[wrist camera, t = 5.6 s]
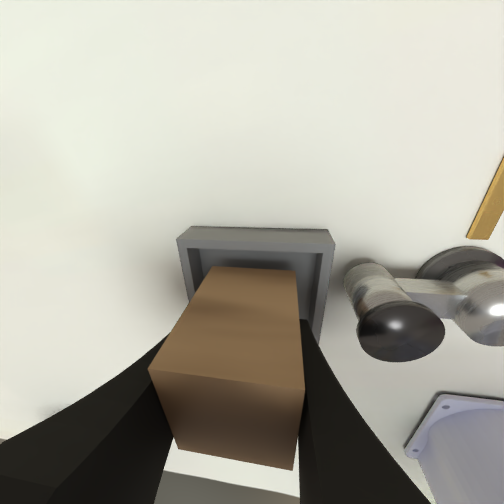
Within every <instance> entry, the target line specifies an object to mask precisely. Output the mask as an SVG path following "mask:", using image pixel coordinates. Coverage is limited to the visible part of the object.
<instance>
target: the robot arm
mask: <svg viewBox="0 0 504 504" xmlns="http://www.w3.org/2000/svg"><path fill="white" fill-rule="evenodd" d="M299 322H300V334H301V346H302V358H303V370H304V382H305V394H304V401H303V407H302V413H301V420H300V426H299V432H298V447H299V482H300V504H431V503H430V502H429V500H428V499H427V498H426V497H425V496H424V495H423V493H422V492H421V491H420V490H419V489H418V488H417V486H416V485H415V484H414V483H413V482H412V480H411V479H410V478H409V477H408V476H407V474H406V473H405V472H404V471H403V469H402V468H401V467H400V466H399V465H398V463H397V462H396V461H395V460H394V458H393V457H392V456H391V455H390V453H389V452H388V451H387V449H386V448H385V447H384V446H383V444H382V443H381V442H380V440H379V439H378V438H377V436H376V435H375V434H374V433H373V431H372V430H371V429H370V427H369V426H368V425H367V423H366V422H365V420H364V419H363V418H362V416H361V415H360V413H359V412H358V411H357V409H356V408H355V406H354V405H353V403H352V402H351V400H350V399H349V397H348V396H347V394H346V393H345V391H344V390H343V388H342V387H341V385H340V383H339V382H338V380H337V378H336V377H335V375H334V373H333V372H332V370H331V368H330V366H329V365H328V363H327V361H326V359H325V357H324V355H323V353H322V351H321V349H320V347H319V345H318V343H317V341H316V339H315V337H314V335H313V332H312V330H311V327H310V324H309V321H308V320H307V319H299ZM169 334H170V333H169ZM169 334H168V335H167V336H166V337H165V338H164V339H162V340H161V341H160V342H159V343H158V344H157V345H156V346H154V347H153V348H152V349H151V350H150V351H148V352H147V353H146V354H145V355H144V356H142V357H141V358H140V359H139V360H137V361H136V362H135V363H133V364H132V365H131V366H129V367H128V368H127V369H125V370H124V371H123V372H121V373H120V374H119V375H117V376H116V377H114V378H113V379H111V380H110V381H108V382H107V383H105V384H104V385H102V386H101V387H99V388H98V389H96V390H95V391H93V392H91V393H90V394H88V395H87V396H85V397H84V398H82V399H80V400H79V401H77V402H75V403H74V404H72V405H70V406H69V407H67V408H65V409H63V410H62V411H60V412H58V413H56V414H55V415H53V416H51V417H49V418H48V419H46V420H44V421H42V422H40V423H38V424H36V425H35V426H33V427H31V428H29V429H27V430H25V431H23V432H21V433H19V434H18V435H16V436H14V437H12V438H10V439H8V440H6V441H4V442H2V444H0V504H154V500H155V497H156V494H157V490H158V487H159V483H160V480H161V476H162V473H163V469H164V466H165V463H166V460H167V456H168V453H169V450H170V447H171V443H172V440H173V437H174V436H173V434H172V431H171V428H170V426H169V423H168V421H167V418H166V415H165V413H164V410H163V408H162V405H161V402H160V400H159V397H158V394H157V392H156V389H155V387H154V384H153V381H152V379H151V376H150V374H149V371H148V367H149V366H150V364H151V363H152V361H153V359H154V358H155V356H156V355H157V353H158V351H159V350H160V348H161V347H162V345H163V344H164V342H165V340H166V339H167V337H168V336H169ZM404 452H405V454H406V456H407V457H410V458H415V459H418V461H419V464H420V466H421V468H422V471H423V473H424V475H425V478H426V480H427V482H428V485H429V487H430V489H431V492H432V494H433V496H434V499H435V501H436V503H437V504H504V401H499V400H490V399H482V398H474V397H466V396H458V395H449V394H443V395H440V396H439V397H438V398H437V400H436V401H435V403H434V404H433V406H432V407H431V409H430V410H429V412H428V414H427V415H426V417H425V418H424V420H423V421H422V423H421V424H420V426H419V428H418V429H417V431H416V432H415V434H414V435H413V437H412V438H411V440H410V442H409V443H408V445H407V446H406V448H405V449H404Z"/></svg>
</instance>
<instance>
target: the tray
mask: <svg viewBox="0 0 504 504" xmlns="http://www.w3.org/2000/svg"><path fill="white" fill-rule="evenodd" d="M176 241H177V246H178V251H179V256H180V261H181V265H182V270H183V275H184V280H185V285H186V290H187V295H188V299H189V302H190V301H191V299H192V298H193V296H194V294H195V293H196V291H197V290H198V288H199V286H200V285H201V283H202V282H203V280H204V279H205V277H206V275H207V274H208V272H209V271H210V269H211V267H212V266H221V267H238V268H256V269H273V270H291V271H295V273H296V285H297V298H298V310H299V319H307V320H308V321H309V324H310V327H311V330H312V332H313V335H314V337H315V339H316V341H317V343H318V345H319V339H320V333H321V327H322V321H323V315H324V309H325V303H326V297H327V291H328V285H329V279H330V273H331V267H332V261H333V256H334V250H335V242H334V241H333V239H332V237H331V235H330V233H329V231H328V230H326V229H283V228H240V227H197V226H191V227H190V228H189V229H188V230H186V231H185V232H184V233H183V234H181V235H180V236H179V237H178V238H177V239H176Z"/></svg>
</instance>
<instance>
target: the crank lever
mask: <svg viewBox="0 0 504 504" xmlns="http://www.w3.org/2000/svg"><path fill="white" fill-rule="evenodd" d="M343 285H344V288H345V291H346V293H347V295H348V298H349V300H350V302H351V305H352V307H353V309H354V312H355V314H356V316H357V319H358V321H359V322H358V325H357V329H356V333H357V337H358V339H359V342H360V344H361V347H362V348H363V350H364V351H365V352H366V353H367V354H369V355H370V356H372V357H374V358H376V359H379V360H382V361H387V362H407V361H412V360H416V359H419V358H422V357H424V356H426V355H428V354H430V353H431V352H433V351H434V350H435V349H436V348H437V347H438V346H439V345H440V344H441V342H442V341H443V339H444V336H445V327H444V324H443V322H442V321H441V320H440V318H445V319H452V320H453V321H454V322H455V323H456V324H457V325H458V326H459V327H460V328H461V329H462V330H463V331H464V332H465V333H466V334H467V335H468V336H469V337H470V338H471V339H472V340H473V341H475V342H477V343H480V344H483V345H488V346H504V269H503V268H501V267H499V266H498V265H496V264H494V263H491V262H488V261H480V260H479V261H468V262H464V263H460V264H457V265H455V266H453V267H451V268H449V269H447V270H446V271H444V272H443V273H442V274H441V275H440V276H439V277H438V278H437V279H436V280H426V279H407V278H393V277H392V276H391V274H390V273H389V272H388V271H387V270H386V269H385V268H384V267H383V266H381V265H379V264H376V263H363V264H359V265H357V266H355V267H353V268H352V269H350V270H349V271H348V272H347V274H346V275H345V277H344V280H343Z"/></svg>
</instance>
